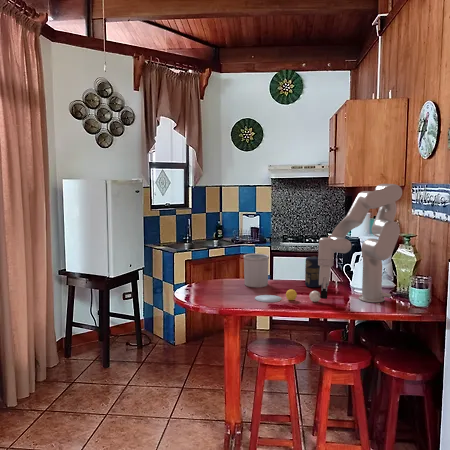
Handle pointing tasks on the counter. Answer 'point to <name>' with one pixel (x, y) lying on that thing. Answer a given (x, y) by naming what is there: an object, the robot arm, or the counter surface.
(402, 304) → the counter surface
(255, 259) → the utensil holder
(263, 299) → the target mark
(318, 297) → the cue ball
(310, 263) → the blue cylindrical canister
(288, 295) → the object ball
